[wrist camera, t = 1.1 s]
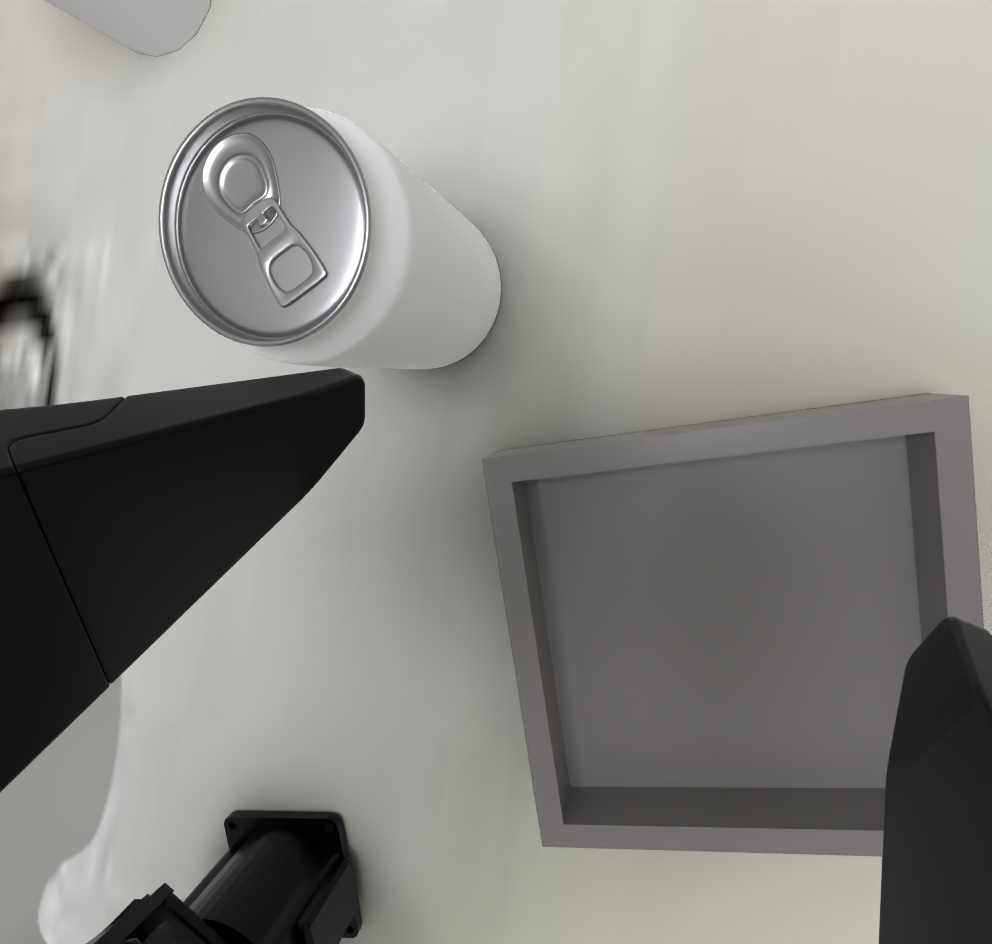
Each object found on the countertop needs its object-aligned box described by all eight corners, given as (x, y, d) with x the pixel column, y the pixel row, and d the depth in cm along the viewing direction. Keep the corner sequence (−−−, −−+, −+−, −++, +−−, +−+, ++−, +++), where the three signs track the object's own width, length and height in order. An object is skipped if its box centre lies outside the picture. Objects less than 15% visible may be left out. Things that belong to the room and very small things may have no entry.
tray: (553, 798, 28) (542, 846, 26) (500, 450, 27) (482, 459, 24) (957, 802, 24) (999, 859, 22) (927, 393, 23) (968, 395, 20)
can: (452, 177, 25) (291, 11, 14) (533, 315, 25) (440, 265, 14) (330, 268, 27) (98, 189, 16) (406, 397, 27) (230, 413, 16)
